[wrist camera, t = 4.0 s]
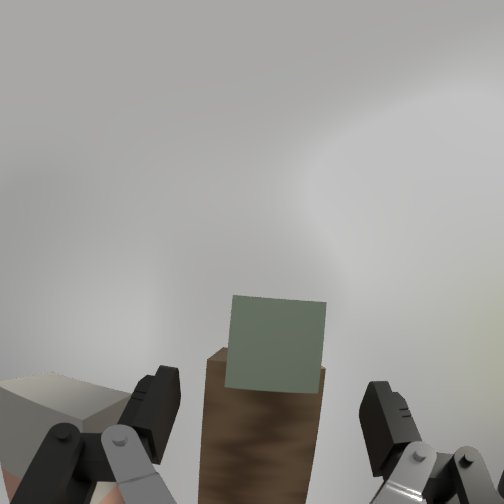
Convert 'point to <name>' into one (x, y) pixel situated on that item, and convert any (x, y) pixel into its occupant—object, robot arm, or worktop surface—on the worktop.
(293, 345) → the long brick
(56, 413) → the brick tower
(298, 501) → the walnut stand
